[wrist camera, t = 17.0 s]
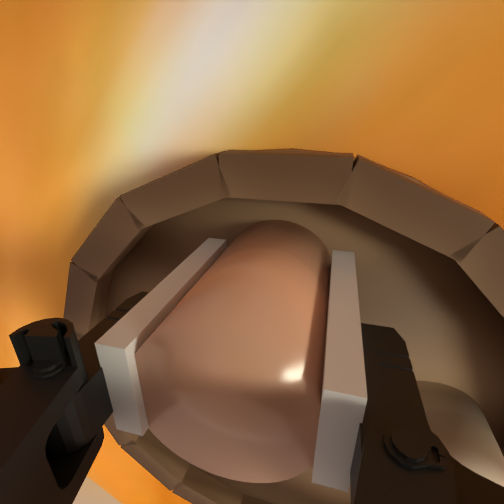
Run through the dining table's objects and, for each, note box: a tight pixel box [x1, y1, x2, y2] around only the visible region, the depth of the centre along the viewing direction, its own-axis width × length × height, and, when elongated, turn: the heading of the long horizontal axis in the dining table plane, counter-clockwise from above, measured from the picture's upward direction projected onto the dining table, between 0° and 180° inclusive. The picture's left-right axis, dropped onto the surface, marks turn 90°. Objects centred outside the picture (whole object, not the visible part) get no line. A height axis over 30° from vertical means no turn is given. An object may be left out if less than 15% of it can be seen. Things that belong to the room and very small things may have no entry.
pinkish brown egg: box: [134, 220, 332, 483], centre depth 10 cm, size 5×5×7 cm
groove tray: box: [63, 149, 504, 504], centre depth 16 cm, size 23×23×2 cm
